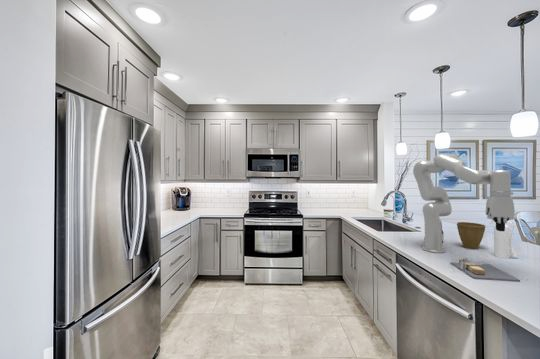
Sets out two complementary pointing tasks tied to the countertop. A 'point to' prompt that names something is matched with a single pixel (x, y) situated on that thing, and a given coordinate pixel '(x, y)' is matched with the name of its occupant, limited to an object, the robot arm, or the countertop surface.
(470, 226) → the plant pot
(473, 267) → the oak link
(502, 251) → the white bottle
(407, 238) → the countertop surface
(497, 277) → the charcoal mat
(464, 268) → the steel keeper
